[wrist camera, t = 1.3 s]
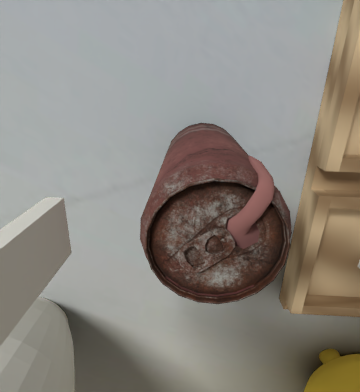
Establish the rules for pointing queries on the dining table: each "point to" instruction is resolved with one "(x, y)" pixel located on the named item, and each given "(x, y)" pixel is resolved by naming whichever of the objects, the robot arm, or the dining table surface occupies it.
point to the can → (214, 219)
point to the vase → (39, 352)
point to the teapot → (335, 373)
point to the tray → (331, 192)
